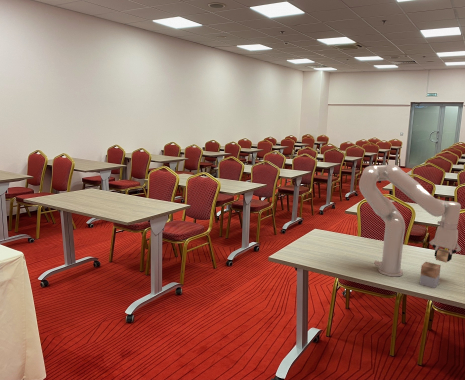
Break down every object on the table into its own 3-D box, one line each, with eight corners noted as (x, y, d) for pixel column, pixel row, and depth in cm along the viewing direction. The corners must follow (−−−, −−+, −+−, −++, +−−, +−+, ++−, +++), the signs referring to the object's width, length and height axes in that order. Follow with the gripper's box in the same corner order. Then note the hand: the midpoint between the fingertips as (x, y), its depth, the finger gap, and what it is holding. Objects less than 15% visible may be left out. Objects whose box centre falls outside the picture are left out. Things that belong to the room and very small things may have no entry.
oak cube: (435, 259, 203) (437, 250, 202) (438, 257, 207) (439, 248, 206) (446, 262, 200) (448, 253, 199) (448, 260, 203) (450, 251, 202)
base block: (419, 284, 198) (420, 274, 197) (423, 279, 203) (424, 270, 202) (434, 288, 194) (435, 278, 193) (438, 283, 199) (439, 274, 198)
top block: (420, 274, 197) (421, 265, 196) (424, 270, 202) (425, 261, 201) (435, 278, 193) (436, 269, 192) (439, 274, 198) (440, 265, 197)
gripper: (428, 223, 202) (422, 256, 206) (466, 231, 191) (459, 266, 195) (432, 220, 208) (426, 253, 211) (469, 228, 197) (462, 262, 200)
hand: (442, 259), depth 203 cm, fingers closed on oak cube, 5 cm apart
